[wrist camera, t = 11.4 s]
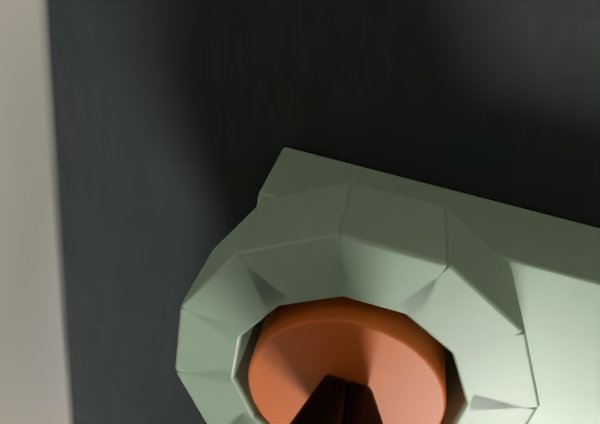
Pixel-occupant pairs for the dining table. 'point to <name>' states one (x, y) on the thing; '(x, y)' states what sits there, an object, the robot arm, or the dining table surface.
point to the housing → (405, 290)
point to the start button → (348, 360)
